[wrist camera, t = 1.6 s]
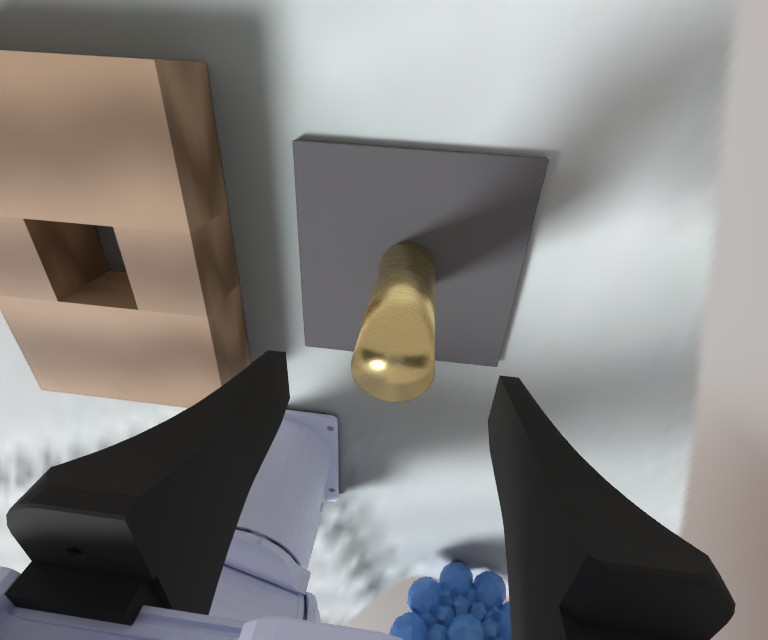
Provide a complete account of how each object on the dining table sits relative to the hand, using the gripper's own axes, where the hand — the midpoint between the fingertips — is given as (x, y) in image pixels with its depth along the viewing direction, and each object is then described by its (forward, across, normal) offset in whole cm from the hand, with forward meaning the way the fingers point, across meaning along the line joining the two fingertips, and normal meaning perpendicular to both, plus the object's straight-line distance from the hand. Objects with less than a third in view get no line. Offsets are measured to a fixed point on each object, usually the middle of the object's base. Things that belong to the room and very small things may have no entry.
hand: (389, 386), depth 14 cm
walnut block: (+10, +16, 0) cm, 19 cm away
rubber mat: (+10, 0, 0) cm, 10 cm away
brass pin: (+10, 0, 0) cm, 10 cm away
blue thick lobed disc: (+11, -7, +30) cm, 33 cm away
